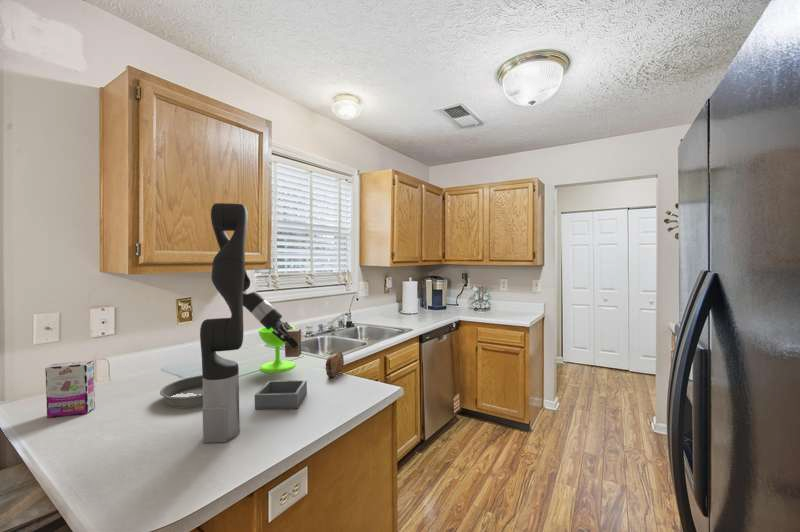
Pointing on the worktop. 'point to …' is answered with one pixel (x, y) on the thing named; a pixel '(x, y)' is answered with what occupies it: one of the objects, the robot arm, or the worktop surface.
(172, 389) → the cake pan
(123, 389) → the worktop surface
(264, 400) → the box
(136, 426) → the worktop surface
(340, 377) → the worktop surface
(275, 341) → the wineglass
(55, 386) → the candy bar box
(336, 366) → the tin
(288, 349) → the brown wooden block
